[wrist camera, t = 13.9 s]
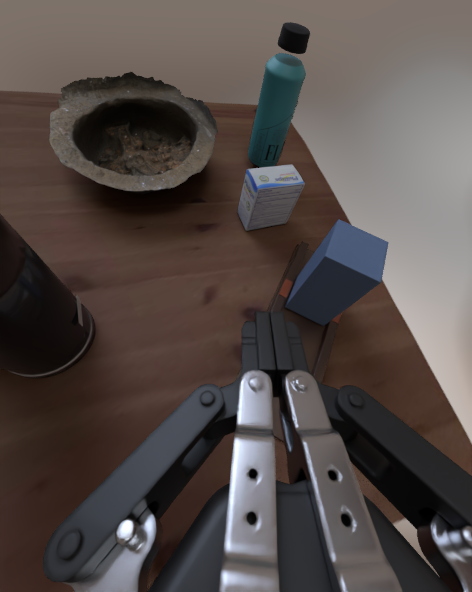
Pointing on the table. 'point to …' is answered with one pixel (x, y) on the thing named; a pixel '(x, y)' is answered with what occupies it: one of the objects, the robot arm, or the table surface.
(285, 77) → the beverage bottle
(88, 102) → the stone bowl
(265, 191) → the medicine box
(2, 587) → the table surface
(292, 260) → the track
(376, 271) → the block
